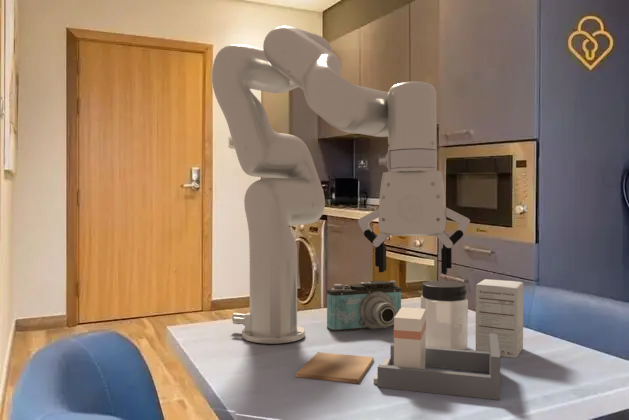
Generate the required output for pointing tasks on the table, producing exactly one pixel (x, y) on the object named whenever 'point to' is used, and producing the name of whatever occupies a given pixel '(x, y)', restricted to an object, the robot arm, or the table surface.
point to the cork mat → (336, 367)
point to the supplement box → (500, 315)
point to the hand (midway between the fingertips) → (413, 272)
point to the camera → (362, 305)
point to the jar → (445, 314)
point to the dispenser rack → (447, 372)
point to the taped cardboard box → (410, 338)
